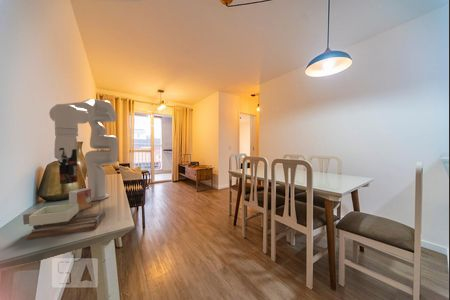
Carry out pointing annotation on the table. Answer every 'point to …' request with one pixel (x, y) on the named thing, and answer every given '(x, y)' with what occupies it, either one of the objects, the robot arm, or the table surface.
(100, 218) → the rail board
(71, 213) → the white open tray
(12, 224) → the table surface
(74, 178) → the deodorant
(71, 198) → the small box
